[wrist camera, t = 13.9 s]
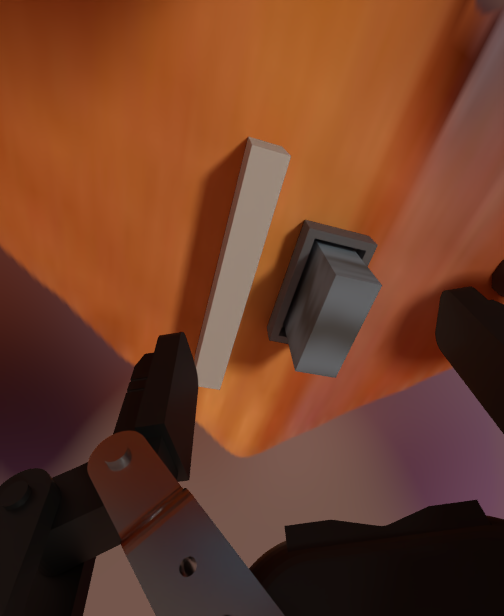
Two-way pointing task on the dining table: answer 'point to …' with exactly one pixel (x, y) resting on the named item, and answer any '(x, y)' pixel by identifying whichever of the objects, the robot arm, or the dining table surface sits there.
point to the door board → (239, 256)
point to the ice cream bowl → (498, 279)
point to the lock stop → (328, 308)
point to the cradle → (301, 252)
